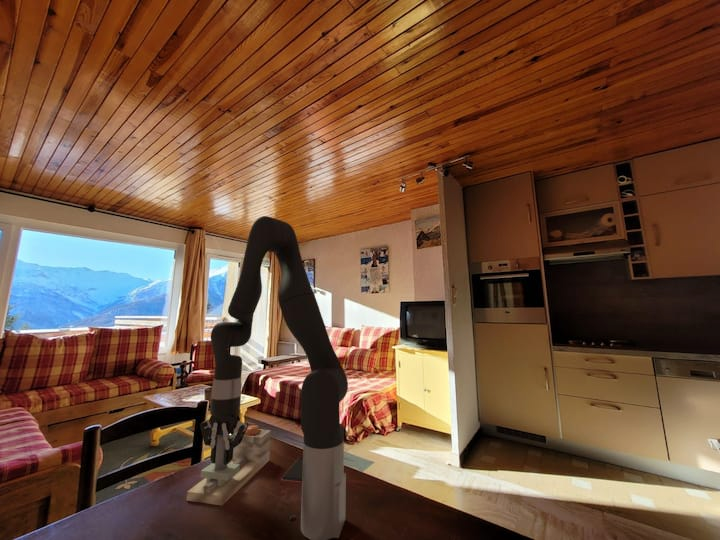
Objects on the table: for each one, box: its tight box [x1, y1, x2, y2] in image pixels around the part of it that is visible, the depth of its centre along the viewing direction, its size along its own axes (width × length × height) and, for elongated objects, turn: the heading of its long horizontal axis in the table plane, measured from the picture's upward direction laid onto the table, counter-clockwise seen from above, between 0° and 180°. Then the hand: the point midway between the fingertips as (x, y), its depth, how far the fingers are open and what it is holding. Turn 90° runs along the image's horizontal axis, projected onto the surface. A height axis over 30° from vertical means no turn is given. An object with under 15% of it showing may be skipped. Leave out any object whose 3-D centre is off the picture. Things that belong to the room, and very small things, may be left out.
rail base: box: [186, 428, 272, 506], centre depth 82 cm, size 10×23×9 cm, turn 169°
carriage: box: [200, 435, 240, 487], centre depth 77 cm, size 8×5×11 cm, turn 79°
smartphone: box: [280, 456, 303, 484], centre depth 87 cm, size 7×1×14 cm
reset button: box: [245, 424, 260, 436], centre depth 91 cm, size 4×4×3 cm
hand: (221, 462), depth 77 cm, fingers closed on carriage, 3 cm apart
